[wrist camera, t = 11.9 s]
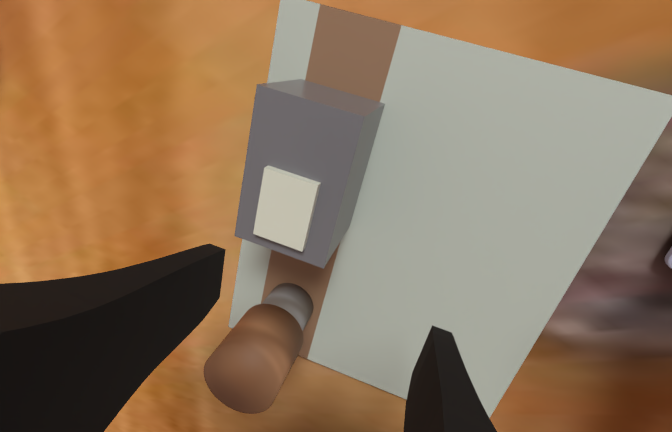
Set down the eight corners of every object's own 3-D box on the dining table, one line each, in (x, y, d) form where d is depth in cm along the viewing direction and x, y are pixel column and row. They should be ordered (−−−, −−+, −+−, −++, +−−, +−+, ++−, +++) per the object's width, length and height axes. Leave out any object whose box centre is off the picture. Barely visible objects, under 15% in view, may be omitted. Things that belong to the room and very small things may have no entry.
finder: (385, 103, 19) (362, 118, 14) (349, 226, 22) (320, 272, 17) (300, 79, 20) (252, 84, 15) (277, 201, 23) (230, 239, 18)
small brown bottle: (330, 299, 24) (287, 382, 18) (302, 337, 26) (255, 425, 20) (279, 266, 24) (220, 337, 18) (255, 306, 26) (193, 383, 20)
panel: (675, 97, 17) (682, 98, 16) (481, 422, 25) (482, 430, 25) (286, -4, 19) (281, -6, 19) (232, 321, 28) (228, 326, 28)
